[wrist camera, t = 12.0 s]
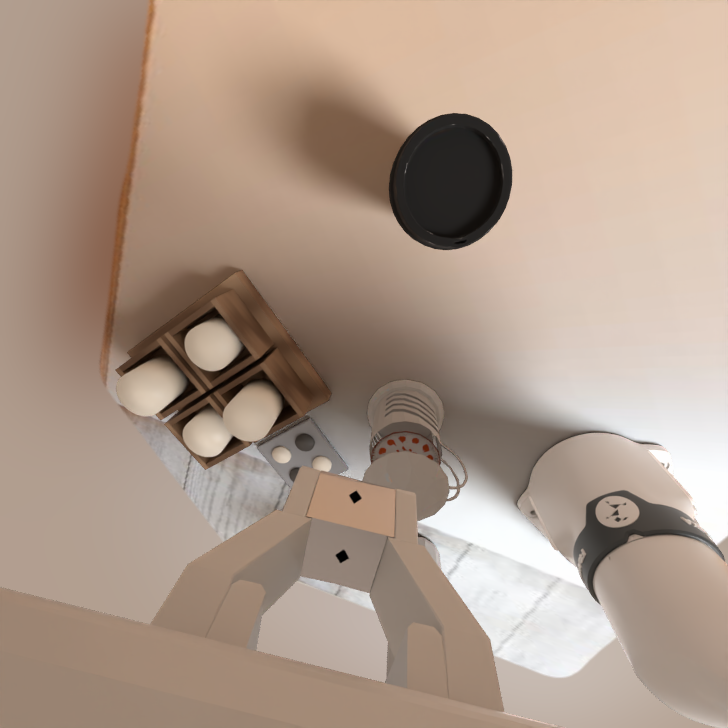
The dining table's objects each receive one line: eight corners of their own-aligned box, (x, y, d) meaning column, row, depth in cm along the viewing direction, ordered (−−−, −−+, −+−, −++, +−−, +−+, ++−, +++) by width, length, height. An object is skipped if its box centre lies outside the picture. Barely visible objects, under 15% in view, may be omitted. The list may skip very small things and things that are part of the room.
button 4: (250, 423, 47) (233, 446, 43) (221, 439, 49) (202, 463, 44) (224, 392, 46) (204, 412, 41) (196, 410, 47) (173, 431, 43)
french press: (384, 367, 45) (362, 528, 22) (471, 403, 46) (539, 596, 23) (355, 430, 49) (311, 624, 26) (436, 462, 50) (463, 680, 26)
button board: (331, 393, 47) (320, 419, 41) (227, 450, 52) (204, 481, 46) (242, 270, 42) (215, 279, 36) (137, 346, 48) (99, 366, 42)
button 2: (198, 382, 43) (173, 403, 38) (168, 401, 44) (140, 423, 40) (168, 347, 41) (138, 364, 37) (138, 368, 43) (106, 387, 38)
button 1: (258, 341, 43) (241, 356, 38) (227, 361, 44) (206, 379, 40) (231, 304, 42) (209, 316, 37) (199, 327, 43) (174, 340, 38)
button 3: (293, 405, 43) (280, 428, 38) (260, 424, 44) (243, 448, 39) (266, 370, 41) (249, 390, 37) (233, 391, 43) (213, 412, 38)
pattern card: (348, 467, 51) (347, 471, 50) (296, 491, 54) (295, 495, 53) (310, 417, 49) (308, 420, 48) (258, 445, 51) (256, 449, 51)
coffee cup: (401, 246, 40) (399, 264, 26) (386, 158, 37) (375, 126, 23) (482, 228, 38) (526, 238, 24) (473, 136, 35) (517, 86, 21)
